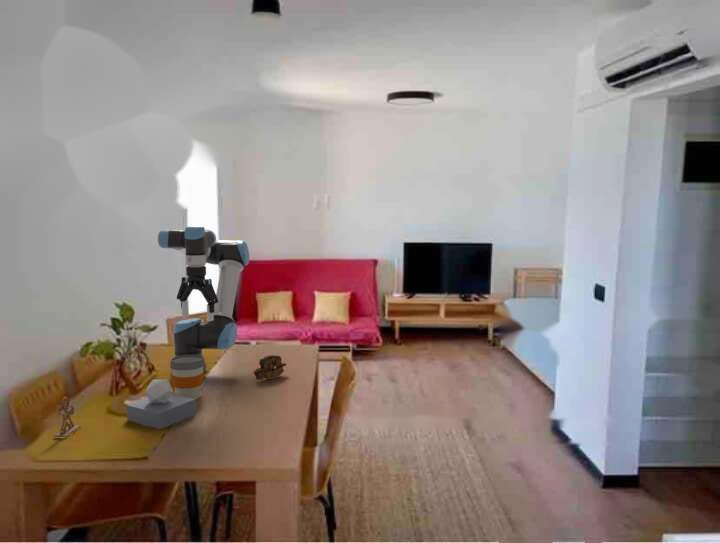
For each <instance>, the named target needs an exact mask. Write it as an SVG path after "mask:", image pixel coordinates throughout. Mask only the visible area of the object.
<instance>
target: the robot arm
mask: <svg viewBox="0 0 720 543" xmlns="http://www.w3.org/2000/svg"><path fill="white" fill-rule="evenodd" d="M157 242H158V246H159V247H160V248H161V249H173V250H175V251H179V252H181V253H184V254H185V265H186V267H185V272H186V273H185V275H186V276H183V277H181V284H180V285H179V288H178V292H177V295H176V300H179V301H180V309H181V315H182V317H181V318H182V320H179V321H177V322H175V323H174V326H173V344H174V346H173V347H174V348H173V349H174V357H177V356H181V355H200V356H203V358H204V366H203V371H204V373H206V372H207V370H208V368H207V366H208V365H207V363H206V361H205V357H204V354H203V350H220V351H222V350H230V349H232V347H234V345H235V344H236V341H237V337H238V325H237V324H236V323H235V320H234V318H233V312H234V306H235V300H236V296H237V291H238V282H239V278H240V276H239V275H240V273H241V272H242V271H243V270H244V266H248V265H249V263H250V253H249V252H250V250H249V246H248V244H247V242H246V241H245V240H237V239H236V240H230V239H229V240H223V239H222V240H221V239H219V240H218V239H217V235H216V234H215V232H214V231H213V230H210V229H205V226H202V225H192V226H191V225H190V226H189V225H188V226H186V227H185V228H184V229H161V230H160V231H159V232H158V234H157ZM206 264H209V265H217V266H218V267H219V269H220V273H219V277H218V278H219V279H218V283H217V286H216V287H217V289H216V291H215V288H214V286H213V282H212V281H213V280H212V278H207V279H206V277H205V276H207V267H206ZM193 290H197V291H199V292H200V293H201V295H202V296H203V298H204V299H205V301H206V303H207V304H206V321H205V322H204V321H203V320H202V319H201V318H198V317H196V318H189V316H190V314H189V300H188V298H189V296H190V295H191V293H192V292H193ZM185 318H187V319H185ZM170 373H171V374H172V369H171V368H170Z"/></svg>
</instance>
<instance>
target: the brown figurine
mask: <svg viewBox="0 0 720 543" xmlns="http://www.w3.org/2000/svg"><path fill="white" fill-rule="evenodd" d="M60 403H61V404H60V405H59V406H58V407H57V409H56V410H57V414H58V416H60V417H62V422H61V426H60V427H61V428H60V431H59V432H57V433H56V434H54V435H53V438H54V437H66V436H68V435H69V434H71V433H72V432H74V431H76V430H77V429H78V428H80V429H81V425H77V424H76V425H75V424H74V422H73V420H72V419H71V416H72V415H74V413H75V408H74V407H73V405H70V398H69V397H68V396H64V397H63V398H62V399H61V402H60ZM69 408H70V410H69ZM62 411H63V412H64V413H61V412H62ZM67 420H69V422H68V421H67ZM77 431H78V430H77ZM77 431H76V432H77Z"/></svg>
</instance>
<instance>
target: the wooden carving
mask: <svg viewBox="0 0 720 543" xmlns="http://www.w3.org/2000/svg"><path fill="white" fill-rule="evenodd" d="M258 364H259V366H260V367H257V368H256V369H255V370H253V375H254V376H255V379H256V381H263V380H266V379H267V380H273V379H276V378H279V377H280V376H281V375H282V374H283V373H284V372H285V369H284V367H286V366H287V363H283V362H282V357H281V355H272V354H270V355H269V354H267V355H265V356H264V357H263V358H260V359H259V363H258Z"/></svg>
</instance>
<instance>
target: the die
mask: <svg viewBox="0 0 720 543" xmlns="http://www.w3.org/2000/svg"><path fill="white" fill-rule="evenodd" d="M144 393H145V394H146V398H147V397H148V399H149V401H150V403H151V404H166V402H167V401H168V399H169V398H170V396H171V395H172V394H174V390H173V388H172V386H171V384H170V381H169V379H166V378H165V379H164V378H162V379H152V380H151V381H150V383H149V385H147V388H146V389H145V390H144Z"/></svg>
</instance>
